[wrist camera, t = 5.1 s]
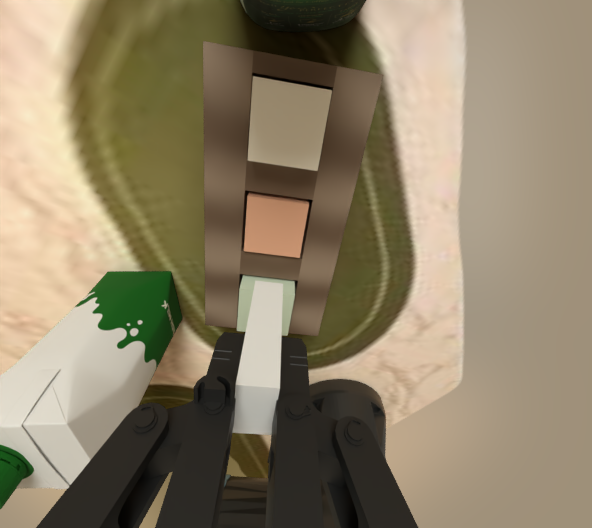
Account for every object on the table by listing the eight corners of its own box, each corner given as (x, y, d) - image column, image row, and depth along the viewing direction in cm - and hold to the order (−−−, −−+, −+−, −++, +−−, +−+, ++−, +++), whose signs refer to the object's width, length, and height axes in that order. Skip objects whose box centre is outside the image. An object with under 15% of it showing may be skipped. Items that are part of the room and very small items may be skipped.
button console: (314, 307, 35) (317, 336, 31) (216, 296, 34) (205, 325, 30) (366, 79, 24) (383, 74, 19) (219, 52, 23) (203, 41, 18)
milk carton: (97, 264, 32) (-136, 460, 14) (179, 264, 32) (47, 457, 15) (120, 324, 36) (-37, 531, 19) (192, 323, 36) (103, 528, 19)
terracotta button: (298, 241, 29) (299, 258, 26) (248, 235, 28) (243, 251, 25) (306, 192, 26) (309, 204, 23) (252, 184, 26) (247, 195, 23)
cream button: (313, 162, 23) (317, 171, 20) (253, 152, 23) (247, 160, 20) (326, 92, 21) (332, 90, 18) (258, 80, 21) (252, 76, 18)
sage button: (287, 313, 31) (287, 335, 28) (241, 308, 31) (236, 331, 28) (294, 274, 29) (295, 295, 26) (244, 268, 28) (239, 288, 25)
